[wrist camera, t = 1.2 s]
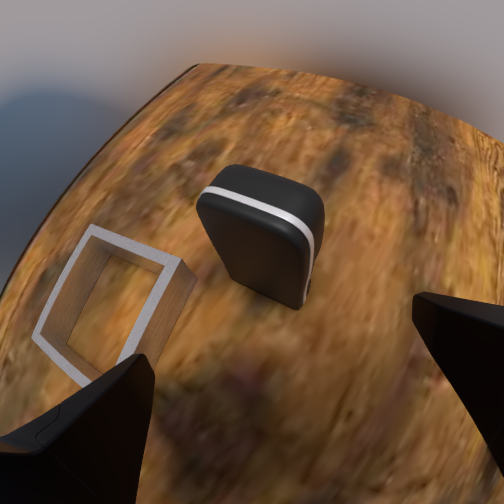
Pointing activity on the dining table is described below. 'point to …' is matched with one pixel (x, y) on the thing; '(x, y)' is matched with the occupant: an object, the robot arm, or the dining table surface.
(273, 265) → the battery charger
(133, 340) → the hollow square metal frame
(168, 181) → the dining table surface
